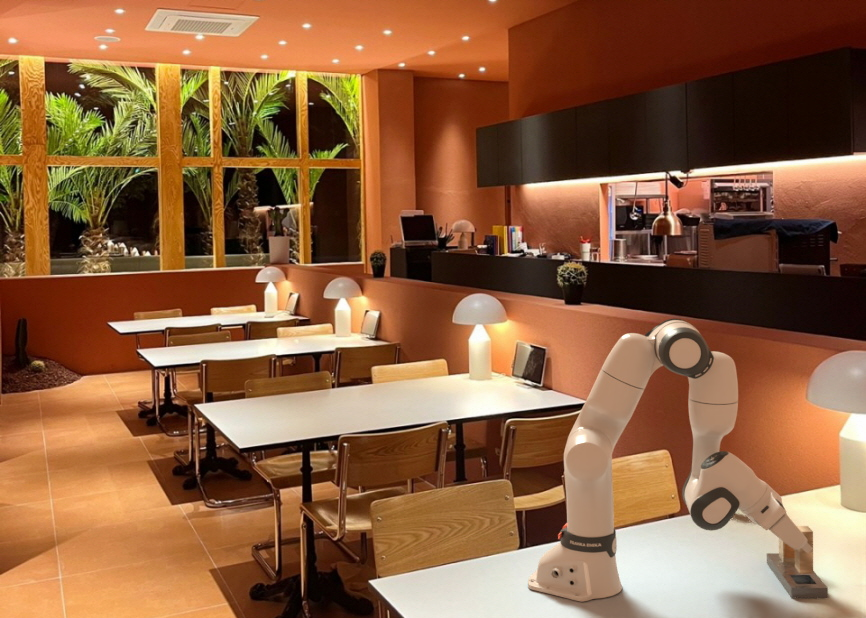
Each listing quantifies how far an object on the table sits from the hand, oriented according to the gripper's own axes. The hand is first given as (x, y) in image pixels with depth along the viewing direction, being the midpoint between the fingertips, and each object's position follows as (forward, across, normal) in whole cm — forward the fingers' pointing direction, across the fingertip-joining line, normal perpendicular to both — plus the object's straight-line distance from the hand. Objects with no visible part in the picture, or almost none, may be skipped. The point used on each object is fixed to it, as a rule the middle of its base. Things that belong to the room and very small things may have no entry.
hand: (806, 546), depth 207 cm
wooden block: (+4, 0, -4) cm, 6 cm away
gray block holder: (+7, -6, -8) cm, 12 cm away
